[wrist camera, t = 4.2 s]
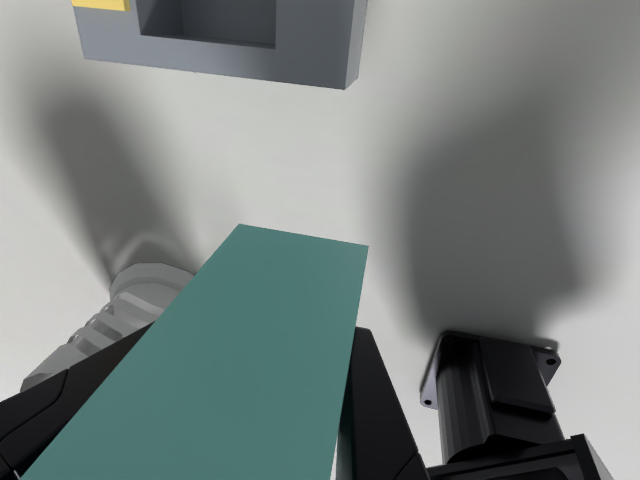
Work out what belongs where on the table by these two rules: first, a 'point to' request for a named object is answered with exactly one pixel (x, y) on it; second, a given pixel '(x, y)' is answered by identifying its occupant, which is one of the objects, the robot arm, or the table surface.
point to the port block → (230, 37)
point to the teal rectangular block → (228, 372)
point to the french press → (118, 315)
